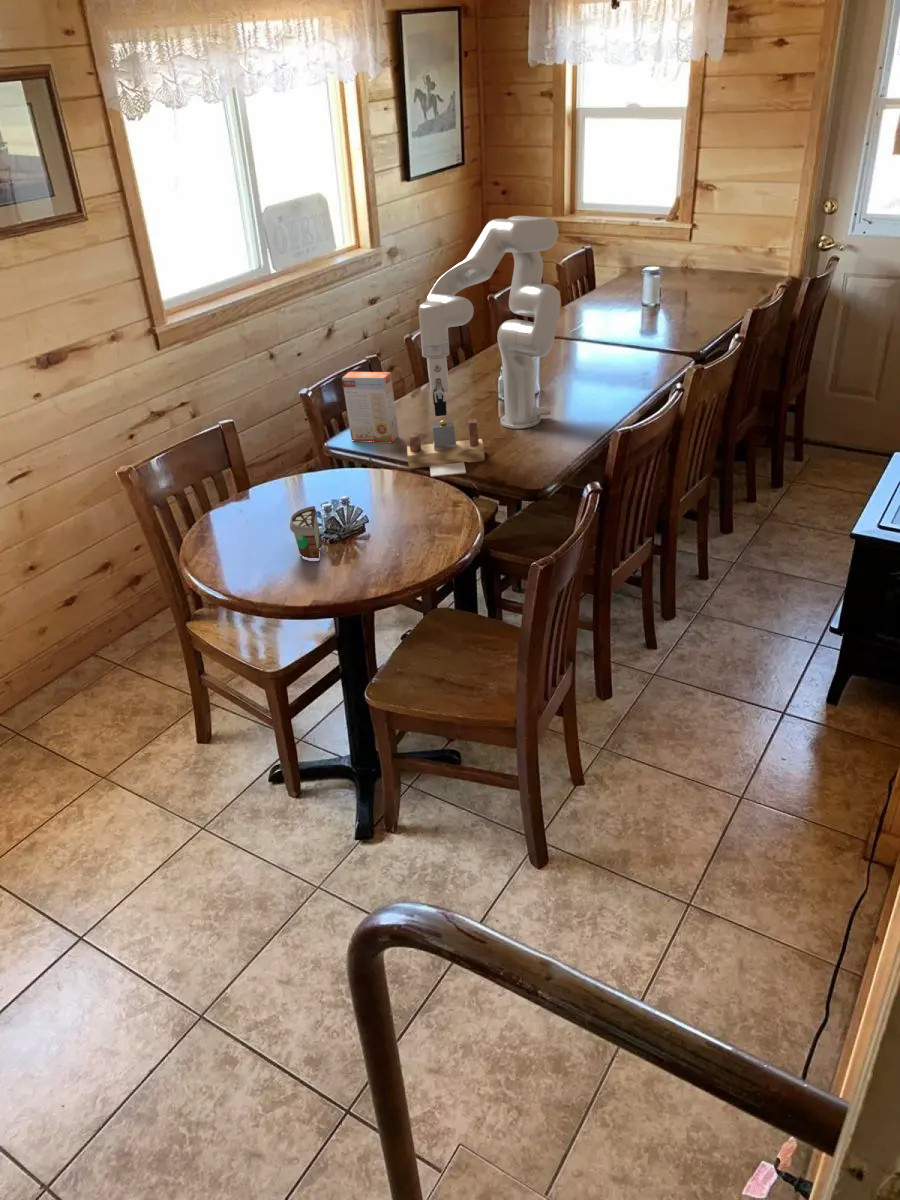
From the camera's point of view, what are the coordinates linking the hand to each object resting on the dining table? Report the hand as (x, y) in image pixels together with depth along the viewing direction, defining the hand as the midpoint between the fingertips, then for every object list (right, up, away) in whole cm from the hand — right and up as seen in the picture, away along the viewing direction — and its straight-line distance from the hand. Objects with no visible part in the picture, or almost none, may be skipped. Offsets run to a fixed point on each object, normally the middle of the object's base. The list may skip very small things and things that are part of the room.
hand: (440, 409), depth 254 cm
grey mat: (+2, -17, +2) cm, 17 cm away
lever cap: (+1, -8, +6) cm, 10 cm away
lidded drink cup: (-32, -43, -33) cm, 63 cm away
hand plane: (+2, -13, +9) cm, 16 cm away
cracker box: (-21, -4, +27) cm, 34 cm away
